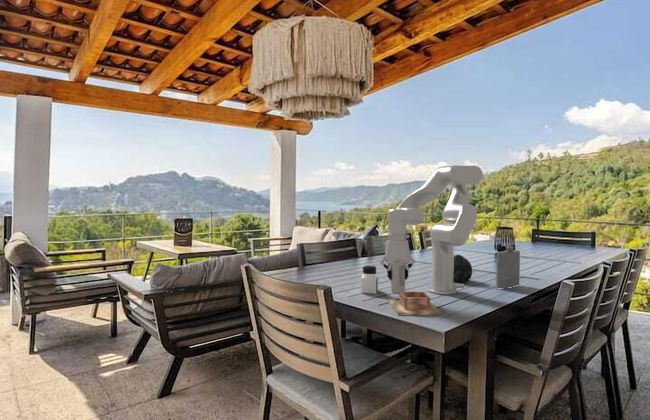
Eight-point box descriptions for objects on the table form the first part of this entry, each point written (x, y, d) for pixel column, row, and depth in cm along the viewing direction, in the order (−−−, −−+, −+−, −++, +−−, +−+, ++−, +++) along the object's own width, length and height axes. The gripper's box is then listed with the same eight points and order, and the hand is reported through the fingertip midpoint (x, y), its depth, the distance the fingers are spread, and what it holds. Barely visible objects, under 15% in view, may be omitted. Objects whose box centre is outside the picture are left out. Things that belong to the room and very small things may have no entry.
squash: (454, 266, 210) (445, 247, 203) (480, 271, 199) (472, 252, 191) (443, 286, 204) (433, 267, 196) (469, 292, 192) (460, 273, 185)
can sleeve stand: (428, 303, 157) (428, 289, 156) (440, 315, 141) (441, 300, 140) (389, 303, 156) (390, 289, 156) (397, 315, 140) (398, 300, 140)
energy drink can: (396, 290, 168) (395, 256, 167) (408, 292, 164) (407, 258, 163) (388, 293, 164) (387, 258, 163) (400, 295, 160) (399, 260, 159)
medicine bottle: (376, 294, 171) (376, 267, 171) (360, 293, 173) (360, 267, 172) (377, 290, 178) (377, 264, 178) (362, 289, 180) (362, 264, 179)
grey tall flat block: (514, 284, 190) (515, 245, 189) (522, 286, 187) (523, 245, 186) (494, 288, 182) (495, 247, 181) (502, 290, 178) (503, 248, 178)
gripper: (415, 236, 167) (415, 276, 167) (375, 237, 166) (376, 277, 167) (419, 238, 159) (420, 280, 160) (378, 239, 159) (379, 281, 160)
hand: (397, 278), depth 164 cm, fingers closed on energy drink can, 6 cm apart
